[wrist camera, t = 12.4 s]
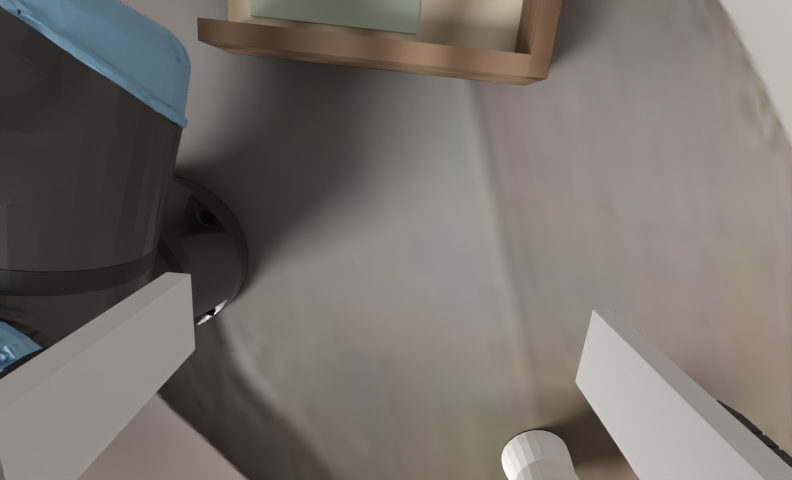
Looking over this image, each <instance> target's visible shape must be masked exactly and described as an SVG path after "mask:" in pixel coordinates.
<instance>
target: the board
mask: <svg viewBox="0 0 792 480" xmlns="http://www.w3.org/2000/svg"><path fill="white" fill-rule="evenodd" d="M522 4H523V0H420V5H419V15H418V24H417V33H416V34H408V33H399V32H390V31H381V30H372V29H363V28H354V27H345V26H336V25H327V24H318V23H309V22H300V21H291V20H282V19H273V18H264V17H255V16H251V15H250V0H228V21H232V22H241V23H250V24H259V25H268V26H277V27H286V28H295V29H304V30H313V31H322V32H331V33H340V34H349V35H358V36H367V37H376V38H385V39H394V40H403V41H412V42H421V43H430V44H439V45H448V46H457V47H466V48H475V49H484V50H493V51H502V52H511V53H514V51H515V45H516V40H517V34H518V28H519V22H520V16H521V10H522Z"/></svg>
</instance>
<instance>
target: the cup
mask: <svg viewBox="0 0 792 480" xmlns="http://www.w3.org/2000/svg"><path fill="white" fill-rule="evenodd" d="M501 461H502V465H503V469H504V471H505V473H506V475H507V478H508V480H579V478H578V477H577V475H576V474H575V471H574V468H573V464H572V461H571V457H570V454H569V451H568V448H567V446H566V445H565V443H564V441H563V440H562V439H561V438H560V437H558V436H557V435H555V434H553V433H551V432H547V431H543V430H532V431H528V432H524V433H522V434H519V435H517V436H516V437H514V438H513V439H512V440H510V441H509V442H508V444H507V445H506V446H505V448H504V450H503V453H502V460H501Z"/></svg>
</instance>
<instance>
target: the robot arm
mask: <svg viewBox="0 0 792 480" xmlns="http://www.w3.org/2000/svg"><path fill="white" fill-rule="evenodd" d="M190 73H191V66H190V60H189V56H188V54H187V51H186V49H185V48H184V46H183V45H182V43H181V42H180V41H179V39H178V38H177V37H176V36H175V35H174V34H172V33H171V32H170V31H169V30H167V29H166V28H165V27H163V26H161V25H160V24H158V23H157V22H155V21H153V20H151V19H150V18H148V17H146V16H145V15H143V14H141V13H139V12H138V11H136V10H134V9H132V8H130V7H129V6H127V5H125V4H123V3H121V2H120V1H118V0H0V480H77V479H78V478H79V477H80V476H81V475H82V473H83V472H84V471H85V470H86V469H87V468H88V467H89V466H90V465H91V464H92V462H93V461H94V460H95V459H96V458H97V457H98V456H99V455H100V454H101V453H102V451H103V450H104V449H105V448H106V447H107V446H108V445H109V444H110V442H111V441H112V440H113V439H114V438H115V437H116V436H117V435H118V434H119V433H120V431H121V430H122V429H123V428H124V427H125V426H126V425H127V424H128V423H129V422H130V420H131V419H132V418H133V417H134V416H135V415H136V414H137V413H138V412H139V411H140V409H141V408H142V407H143V406H144V405H145V404H146V403H147V402H148V401H149V400H150V398H151V397H152V396H153V395H154V394H155V393H156V392H157V391H158V390H159V388H160V387H161V386H162V385H163V384H164V383H165V382H166V381H167V380H168V379H169V377H170V376H171V375H172V374H173V373H174V372H175V371H176V370H177V369H178V367H179V366H180V365H181V364H182V363H183V362H184V361H185V360H186V359H187V358H188V356H189V355H190V354H191V353H192V352H193V351H194V350H195V340H194V326H196V325H199V324H201V323H204V322H206V321H208V320H209V319H211V318H213V317H214V316H216V315H217V314H218V313H219V312H221V311H222V310H223V309H224V308H225V307H226V306H227V305H228V304H229V303H230V302H231V301H232V299H233V298H234V297H235V296H236V295H237V293H238V292H239V290H240V288H241V286H242V284H243V282H244V279H245V276H246V272H247V266H248V252H247V246H246V241H245V238H244V235H243V232H242V230H241V227H240V225H239V224H238V222H237V220H236V218H235V217H234V215H233V214H232V213H231V211H230V210H229V209H228V208H227V207H226V205H225V204H224V203H223V202H222V201H221V200H220V199H218V198H217V197H216V196H215V195H214V194H212V193H211V192H209V191H208V190H206V189H205V188H203V187H201V186H199V185H197V184H195V183H193V182H190V181H187V180H184V179H181V178H176V177H172V176H173V171H174V167H175V162H176V158H177V153H178V148H179V144H180V139H181V135H182V130H183V127H184V128H186V125H187V119H186V118H185V109H186V101H187V93H188V87H189V80H190ZM575 382H576V384H577V385H578V387H579V388H580V390H581V391H582V393H583V394H584V396H585V397H586V399H587V400H588V402H589V403H590V405H591V407H592V408H593V410H594V411H595V413H596V414H597V416H598V417H599V419H600V420H601V422H602V423H603V425H604V426H605V428H606V429H607V431H608V432H609V434H610V435H611V437H612V438H613V440H614V441H615V443H616V444H617V446H618V447H619V449H620V450H621V452H622V453H623V455H624V456H625V458H626V459H627V461H628V462H629V464H630V466H631V467H632V469H633V470H634V472H635V473H636V475H637V476H638V478H639V479H640V480H792V457H790V456H789V455H788V454H787V453H786V452H785V451H784V450H780V449H779V446H778V445H777V444H775V443H774V442H773V441H772V440H771V439H770V438H769V437H767V436H766V435H763V434H762V431H760V430H759V429H758V428H757V427H756V426H755V425H754V424H752V423H751V422H750V421H749V420H748V419H747V418H745V417H744V416H743V415H742V414H740V413H738V412H737V411H735V410H733V409H732V408H730V407H728V406H727V405H725V404H723V403H722V402H720V401H719V400H715V399H714V398H713V397H711V396H710V395H709V394H708V393H707V392H706V391H705V390H704V389H703V388H701V387H700V386H699V385H698V384H697V383H696V382H695V381H694V380H692V379H691V378H690V377H689V376H688V375H687V374H686V373H685V372H683V371H682V370H681V369H680V368H679V367H678V366H677V365H676V364H675V363H673V362H672V361H671V360H670V359H669V358H668V357H667V356H666V355H664V354H663V353H662V352H661V351H660V350H659V349H658V348H657V347H655V346H654V345H653V344H652V343H651V342H650V341H649V340H648V339H647V338H645V337H644V336H643V335H642V334H641V333H640V332H639V331H638V330H636V329H635V328H634V327H633V326H632V325H631V324H630V323H629V322H628V321H626V320H625V319H624V318H623V317H622V316H621V315H620V314H619V313H617V312H615V311H604V310H593V312H592V316H591V320H590V324H589V328H588V332H587V336H586V340H585V344H584V349H583V353H582V357H581V361H580V365H579V369H578V373H577V377H576V381H575Z"/></svg>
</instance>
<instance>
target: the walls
mask: <svg viewBox="0 0 792 480" xmlns="http://www.w3.org/2000/svg"><path fill="white" fill-rule="evenodd" d="M561 5H562V0H523V4H522V10H521V16H520V22H519V28H518V34H517V40H516V45H515V51H514V53H511V52H502V51H493V50H484V49H475V48H466V47H457V46H448V45H439V44H430V43H421V42H412V41H403V40H394V39H385V38H376V37H367V36H358V35H349V34H340V33H331V32H322V31H313V30H304V29H295V28H286V27H277V26H268V25H259V24H250V23H241V22H232V21H223V20H214V19H205V18H197V19H198V40H199V41H201V42H204V43H207V44H209V45H212V46H214V47H217V48H219V49H222V50H224V51H227V52H229V53H234V54H244V55H253V56H262V57H271V58H280V59H289V60H298V61H307V62H316V63H325V64H334V65H344V66H353V67H362V68H371V69H380V70H389V71H398V72H407V73H416V74H425V75H434V76H444V77H453V78H462V79H471V80H480V81H489V82H498V83H507V84H516V85H527V84H531V83H534V82H537V81H541V80H544V79H547V77H548V72H549V67H550V62H551V57H552V51H553V46H554V41H555V36H556V31H557V26H558V21H559V16H560V11H561Z"/></svg>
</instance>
